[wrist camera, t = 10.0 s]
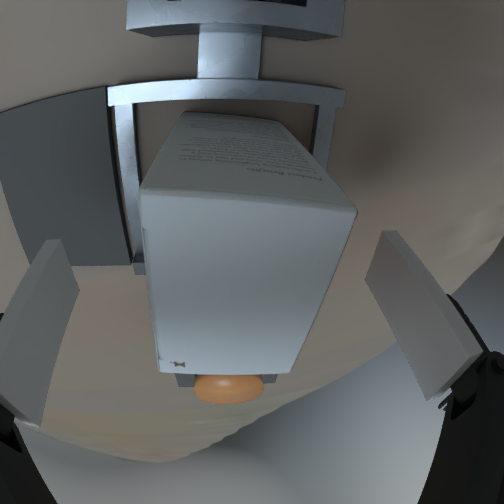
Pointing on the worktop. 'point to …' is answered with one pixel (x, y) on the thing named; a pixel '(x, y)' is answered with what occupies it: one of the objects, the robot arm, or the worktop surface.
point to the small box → (237, 244)
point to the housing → (223, 76)
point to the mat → (64, 177)
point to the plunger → (228, 388)
